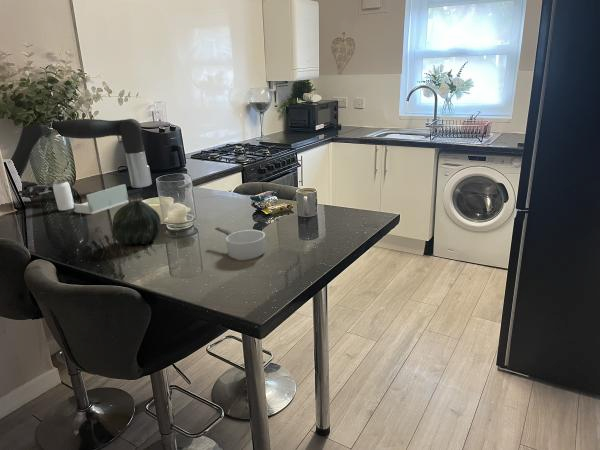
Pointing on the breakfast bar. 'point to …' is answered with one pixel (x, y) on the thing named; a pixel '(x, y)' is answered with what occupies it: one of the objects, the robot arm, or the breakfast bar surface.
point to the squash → (136, 223)
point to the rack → (103, 200)
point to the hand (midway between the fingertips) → (47, 191)
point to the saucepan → (244, 243)
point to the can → (63, 195)
